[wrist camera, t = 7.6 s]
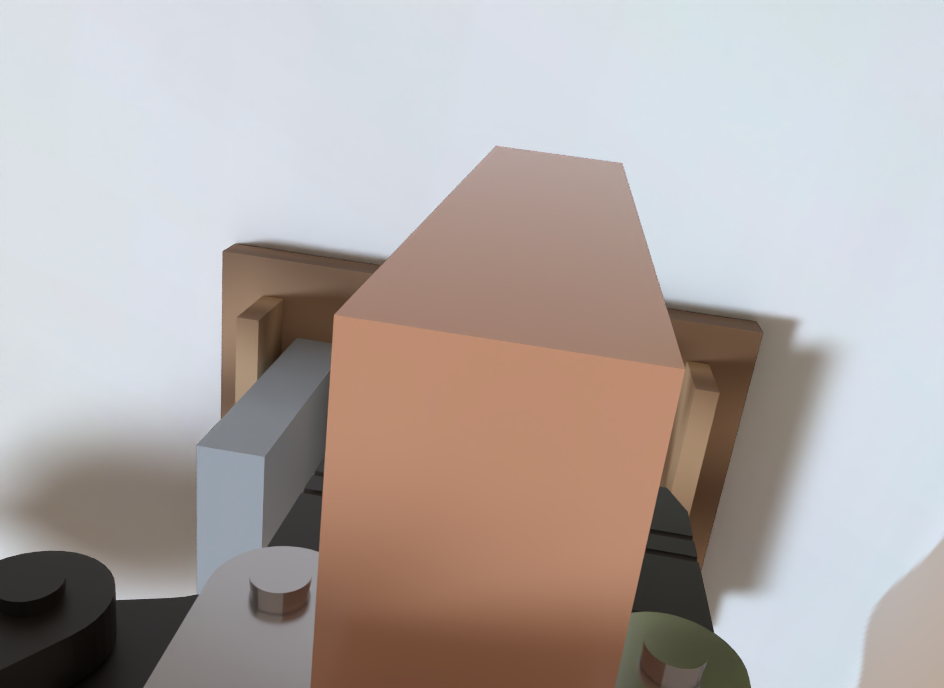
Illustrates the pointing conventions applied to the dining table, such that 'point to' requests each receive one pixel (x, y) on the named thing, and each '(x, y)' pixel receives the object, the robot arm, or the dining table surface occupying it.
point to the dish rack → (334, 280)
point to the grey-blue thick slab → (261, 456)
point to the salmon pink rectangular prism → (496, 438)
